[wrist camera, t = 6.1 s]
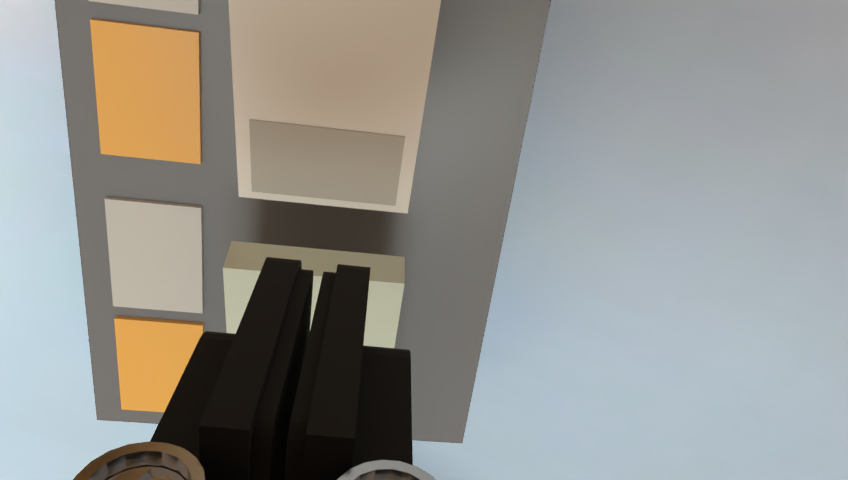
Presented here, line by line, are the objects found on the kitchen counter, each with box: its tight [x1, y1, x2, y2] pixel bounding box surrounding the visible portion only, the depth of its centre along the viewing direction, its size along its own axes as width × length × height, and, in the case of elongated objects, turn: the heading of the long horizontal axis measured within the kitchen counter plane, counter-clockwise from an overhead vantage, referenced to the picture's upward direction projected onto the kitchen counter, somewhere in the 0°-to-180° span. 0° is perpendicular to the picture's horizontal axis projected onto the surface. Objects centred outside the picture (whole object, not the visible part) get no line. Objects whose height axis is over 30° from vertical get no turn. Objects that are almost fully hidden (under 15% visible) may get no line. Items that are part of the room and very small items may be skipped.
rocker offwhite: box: [228, 0, 441, 214], centre depth 18 cm, size 5×9×1 cm, turn 173°
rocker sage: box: [223, 241, 405, 348], centre depth 22 cm, size 5×9×1 cm, turn 173°
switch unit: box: [55, 0, 551, 443], centre depth 23 cm, size 14×20×5 cm
